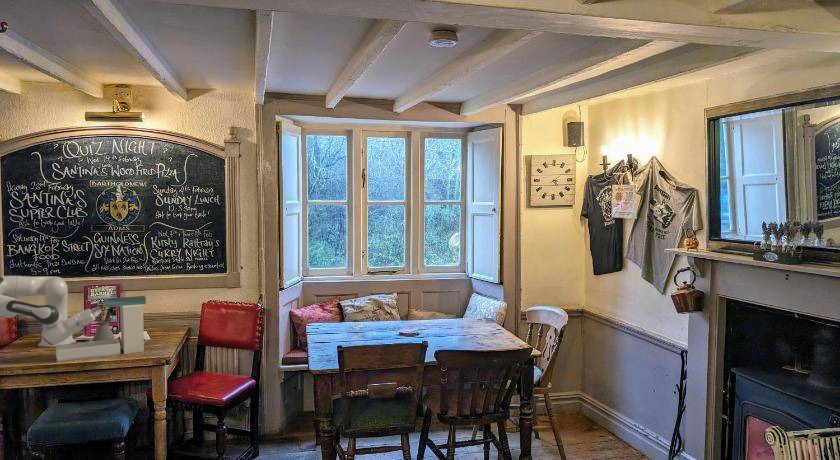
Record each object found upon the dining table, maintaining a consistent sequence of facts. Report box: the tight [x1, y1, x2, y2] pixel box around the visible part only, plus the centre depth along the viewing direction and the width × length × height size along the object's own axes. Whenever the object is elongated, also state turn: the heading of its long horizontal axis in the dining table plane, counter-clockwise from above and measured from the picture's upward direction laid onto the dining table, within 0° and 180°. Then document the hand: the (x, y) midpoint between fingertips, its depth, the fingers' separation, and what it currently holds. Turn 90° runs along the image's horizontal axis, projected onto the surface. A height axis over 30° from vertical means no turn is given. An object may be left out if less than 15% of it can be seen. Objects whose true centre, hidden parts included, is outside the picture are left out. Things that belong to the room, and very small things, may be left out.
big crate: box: [55, 338, 121, 363], centre depth 333 cm, size 13×30×6 cm, turn 123°
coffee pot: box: [92, 312, 116, 341], centre depth 365 cm, size 21×12×15 cm, turn 12°
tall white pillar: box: [119, 304, 145, 354], centre depth 345 cm, size 12×10×26 cm
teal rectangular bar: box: [104, 295, 147, 308], centre depth 342 cm, size 4×20×4 cm, turn 123°
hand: (100, 308), depth 335 cm, fingers open, 8 cm apart
